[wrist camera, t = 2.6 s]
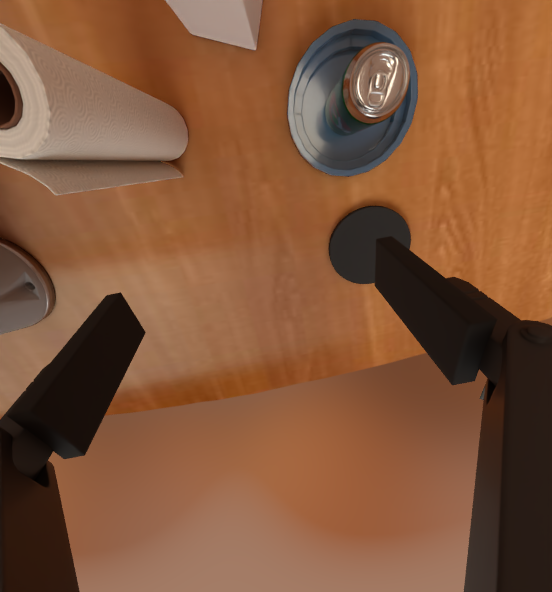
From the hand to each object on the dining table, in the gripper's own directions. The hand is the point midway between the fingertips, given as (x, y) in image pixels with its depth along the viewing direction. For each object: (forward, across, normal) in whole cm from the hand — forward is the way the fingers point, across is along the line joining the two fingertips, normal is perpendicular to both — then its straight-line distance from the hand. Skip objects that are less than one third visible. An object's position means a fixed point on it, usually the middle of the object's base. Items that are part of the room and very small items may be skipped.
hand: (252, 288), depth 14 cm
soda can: (+24, +13, +6) cm, 28 cm away
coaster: (+22, +14, -10) cm, 28 cm away
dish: (+24, +13, +6) cm, 28 cm away
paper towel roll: (+27, -9, +7) cm, 29 cm away
